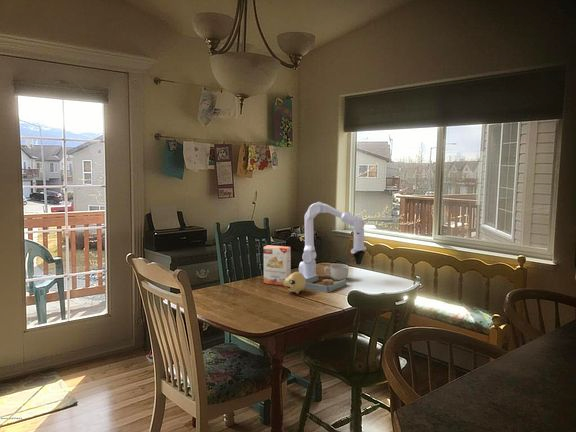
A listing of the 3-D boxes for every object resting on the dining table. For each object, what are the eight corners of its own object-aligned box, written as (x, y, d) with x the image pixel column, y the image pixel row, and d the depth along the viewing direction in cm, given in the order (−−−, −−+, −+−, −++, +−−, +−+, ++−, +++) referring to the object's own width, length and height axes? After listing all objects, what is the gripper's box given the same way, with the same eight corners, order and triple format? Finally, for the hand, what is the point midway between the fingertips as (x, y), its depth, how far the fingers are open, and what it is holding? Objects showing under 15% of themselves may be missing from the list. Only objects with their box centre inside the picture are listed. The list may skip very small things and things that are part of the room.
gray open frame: (297, 287, 245) (297, 281, 245) (316, 280, 260) (316, 274, 260) (328, 292, 234) (328, 286, 234) (346, 284, 249) (346, 279, 249)
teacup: (348, 277, 267) (348, 263, 266) (348, 281, 256) (348, 267, 255) (324, 276, 268) (324, 263, 267) (323, 281, 257) (323, 267, 257)
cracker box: (263, 284, 252) (262, 246, 250) (267, 281, 257) (267, 244, 255) (286, 286, 246) (286, 248, 244) (291, 283, 252) (290, 246, 250)
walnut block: (322, 289, 239) (322, 280, 239) (326, 288, 243) (326, 279, 242) (329, 291, 237) (329, 281, 237) (333, 289, 240) (333, 280, 240)
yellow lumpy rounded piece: (279, 293, 233) (279, 272, 232) (295, 288, 242) (295, 268, 241) (293, 296, 226) (293, 275, 225) (309, 292, 235) (309, 271, 234)
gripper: (359, 242, 248) (358, 267, 249) (371, 239, 259) (370, 262, 261) (347, 241, 252) (347, 265, 253) (359, 238, 263) (359, 261, 265)
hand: (358, 264), depth 257 cm, fingers closed
